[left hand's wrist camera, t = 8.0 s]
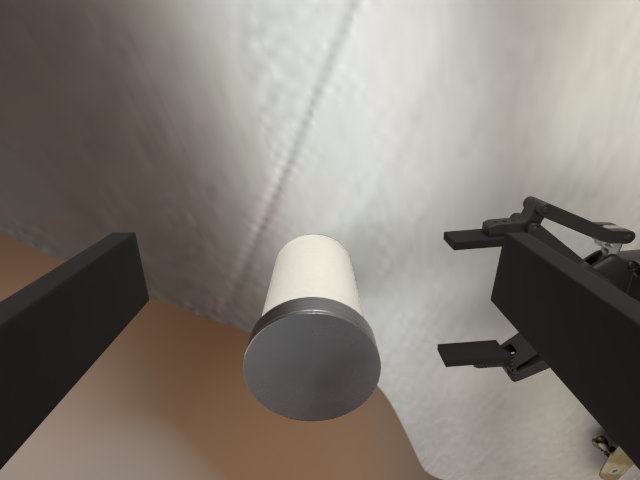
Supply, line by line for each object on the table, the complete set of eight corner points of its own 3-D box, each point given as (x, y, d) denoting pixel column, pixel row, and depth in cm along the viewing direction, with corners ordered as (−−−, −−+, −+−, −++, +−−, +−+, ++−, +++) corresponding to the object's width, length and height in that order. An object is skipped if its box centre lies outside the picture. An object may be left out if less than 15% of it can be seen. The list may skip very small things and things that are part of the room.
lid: (402, 346, 27) (409, 366, 25) (317, 417, 30) (318, 440, 28) (305, 271, 24) (304, 286, 22) (222, 356, 27) (215, 376, 25)
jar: (368, 267, 40) (398, 362, 25) (316, 316, 43) (317, 428, 28) (309, 218, 38) (305, 292, 23) (259, 273, 40) (226, 371, 26)
